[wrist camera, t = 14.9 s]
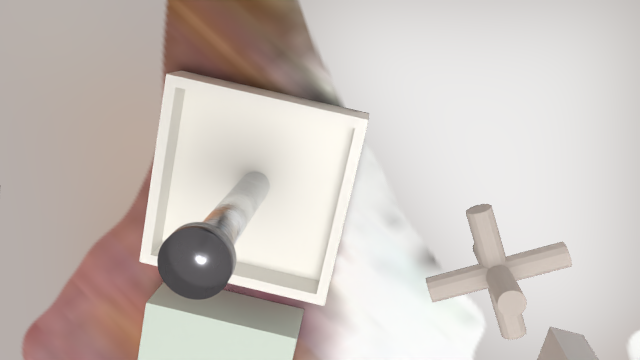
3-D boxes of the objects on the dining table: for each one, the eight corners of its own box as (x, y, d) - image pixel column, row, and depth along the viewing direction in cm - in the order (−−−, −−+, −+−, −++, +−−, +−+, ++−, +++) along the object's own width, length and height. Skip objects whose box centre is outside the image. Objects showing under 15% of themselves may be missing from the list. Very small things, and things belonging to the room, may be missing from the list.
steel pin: (234, 156, 47) (163, 221, 31) (284, 167, 46) (237, 239, 31) (226, 203, 48) (152, 289, 32) (274, 214, 47) (224, 307, 32)
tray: (181, 70, 46) (166, 73, 43) (369, 113, 46) (368, 120, 42) (155, 245, 50) (139, 261, 47) (327, 287, 50) (324, 305, 46)
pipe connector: (406, 208, 47) (414, 254, 38) (531, 172, 46) (573, 210, 36) (440, 317, 49) (456, 388, 40) (561, 287, 48) (608, 352, 38)
